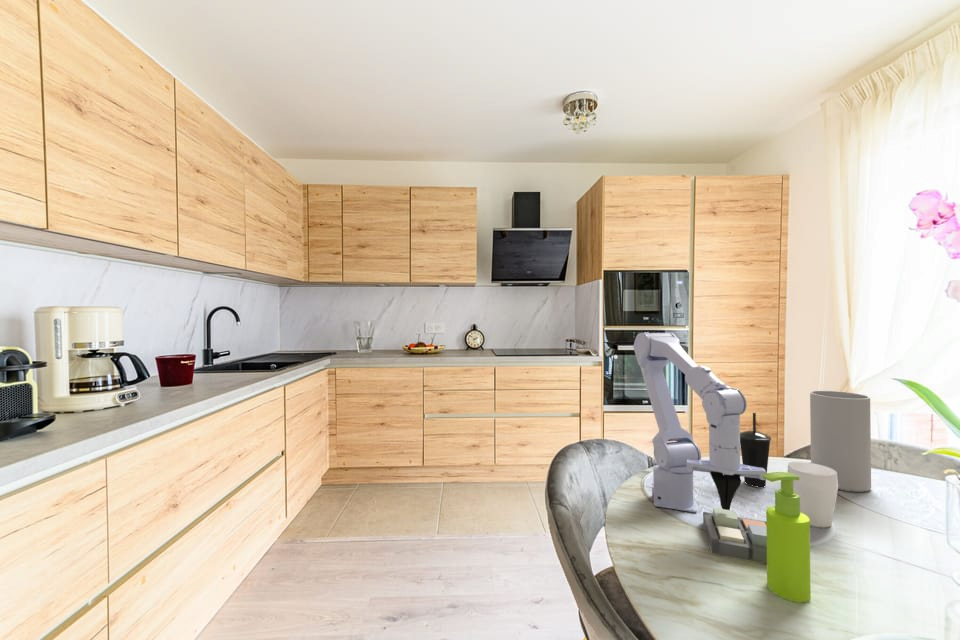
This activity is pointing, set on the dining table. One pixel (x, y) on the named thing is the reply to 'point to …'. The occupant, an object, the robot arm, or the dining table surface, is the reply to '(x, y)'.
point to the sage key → (725, 518)
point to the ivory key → (729, 534)
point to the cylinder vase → (842, 437)
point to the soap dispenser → (788, 542)
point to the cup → (815, 491)
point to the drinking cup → (755, 452)
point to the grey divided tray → (733, 543)
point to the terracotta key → (752, 522)
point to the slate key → (757, 535)
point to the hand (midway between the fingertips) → (725, 507)
